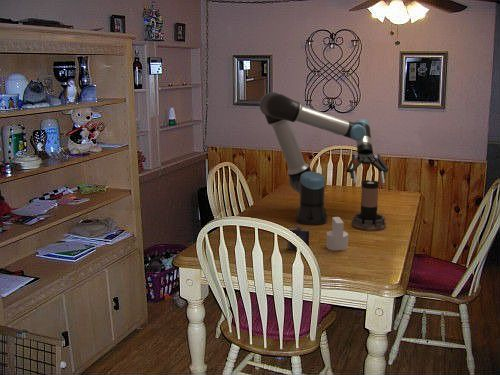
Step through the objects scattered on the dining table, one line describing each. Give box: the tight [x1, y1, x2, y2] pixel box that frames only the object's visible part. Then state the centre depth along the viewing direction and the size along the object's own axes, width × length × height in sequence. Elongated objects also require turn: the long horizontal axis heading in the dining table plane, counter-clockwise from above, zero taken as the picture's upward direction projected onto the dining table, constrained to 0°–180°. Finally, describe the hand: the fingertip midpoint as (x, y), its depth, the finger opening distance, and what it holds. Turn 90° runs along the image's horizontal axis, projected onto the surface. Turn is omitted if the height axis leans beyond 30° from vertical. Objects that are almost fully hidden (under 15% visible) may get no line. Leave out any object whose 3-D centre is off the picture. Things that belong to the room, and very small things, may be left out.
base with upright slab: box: [325, 216, 349, 251], centre depth 232 cm, size 9×9×12 cm
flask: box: [286, 224, 310, 251], centre depth 229 cm, size 9×3×11 cm, turn 72°
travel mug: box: [360, 179, 379, 225], centre depth 260 cm, size 8×8×20 cm
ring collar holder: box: [351, 212, 387, 232], centre depth 262 cm, size 16×16×4 cm
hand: (369, 184), depth 264 cm, fingers open, 13 cm apart
